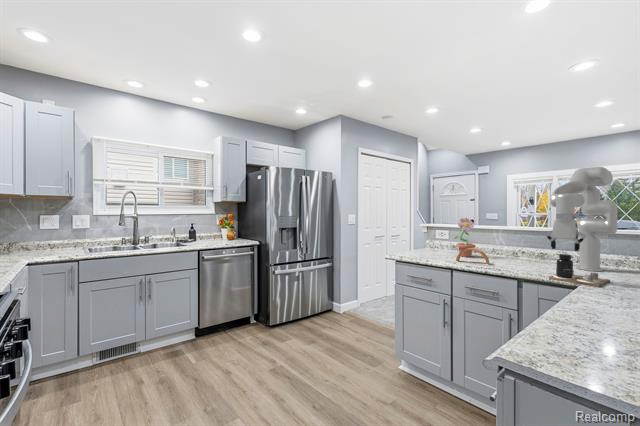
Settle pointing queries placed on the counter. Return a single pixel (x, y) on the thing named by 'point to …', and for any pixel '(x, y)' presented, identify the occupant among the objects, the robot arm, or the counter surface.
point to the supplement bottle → (564, 266)
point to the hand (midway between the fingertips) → (564, 249)
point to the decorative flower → (465, 225)
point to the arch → (476, 251)
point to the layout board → (583, 279)
